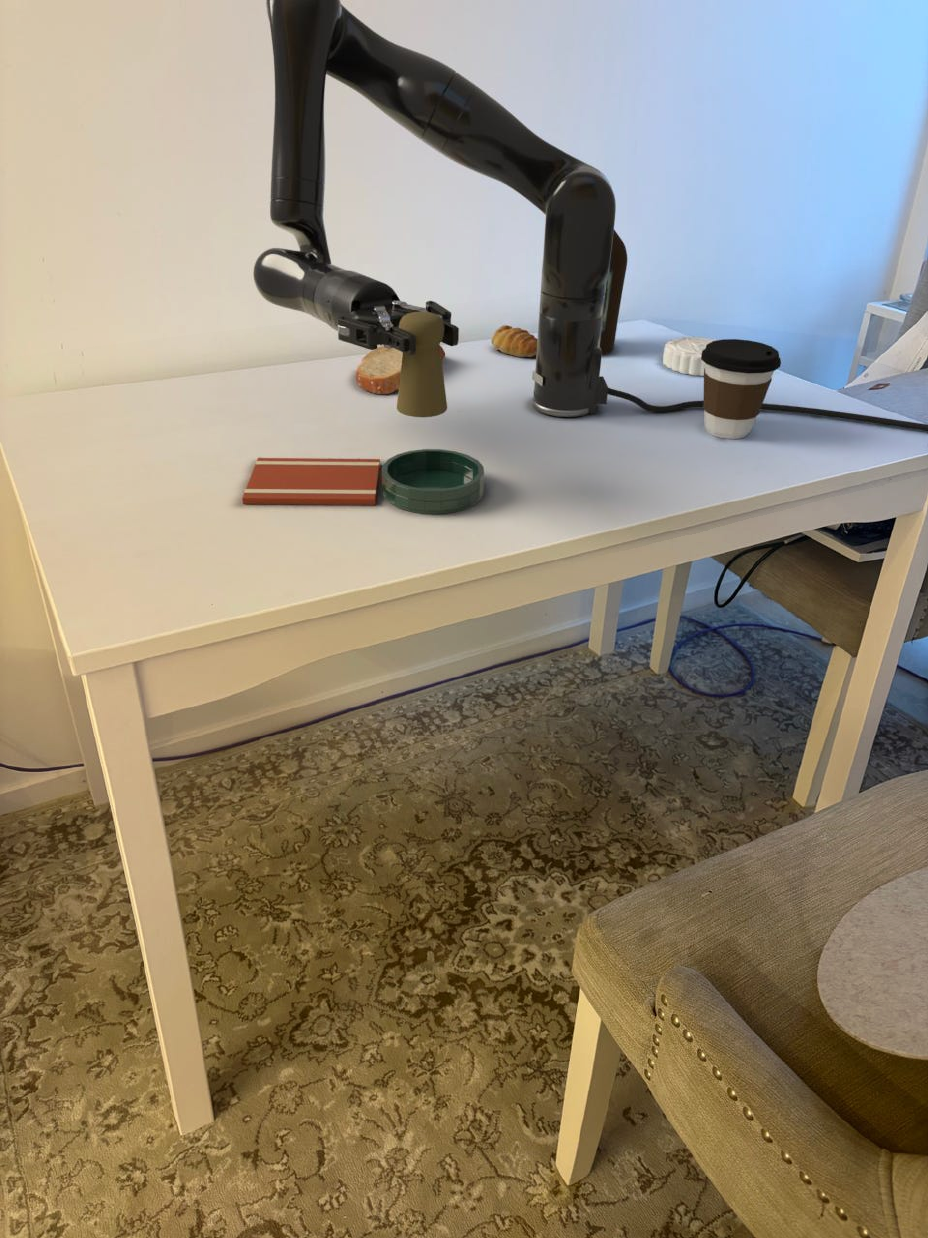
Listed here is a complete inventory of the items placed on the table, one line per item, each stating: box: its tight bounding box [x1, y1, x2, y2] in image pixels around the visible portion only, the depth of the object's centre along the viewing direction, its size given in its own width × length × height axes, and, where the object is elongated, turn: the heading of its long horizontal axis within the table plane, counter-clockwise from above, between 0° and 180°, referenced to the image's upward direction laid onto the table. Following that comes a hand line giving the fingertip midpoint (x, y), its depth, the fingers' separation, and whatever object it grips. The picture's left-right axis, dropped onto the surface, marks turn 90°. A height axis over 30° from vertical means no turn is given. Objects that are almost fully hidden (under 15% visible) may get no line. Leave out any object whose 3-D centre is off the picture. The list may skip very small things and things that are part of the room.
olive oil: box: [600, 229, 628, 356], centre depth 158 cm, size 11×11×25 cm
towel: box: [241, 457, 381, 506], centre depth 115 cm, size 16×12×1 cm
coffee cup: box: [701, 338, 782, 440], centre depth 130 cm, size 11×11×12 cm
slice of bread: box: [355, 345, 446, 395], centre depth 150 cm, size 18×18×4 cm
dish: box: [381, 448, 485, 515], centre depth 113 cm, size 13×13×3 cm
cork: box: [396, 312, 448, 418], centre depth 105 cm, size 6×6×11 cm
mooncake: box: [662, 336, 718, 377], centre depth 157 cm, size 12×12×4 cm
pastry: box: [491, 324, 538, 358], centre depth 161 cm, size 9×7×4 cm
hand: (434, 341), depth 102 cm, fingers closed on cork, 5 cm apart
